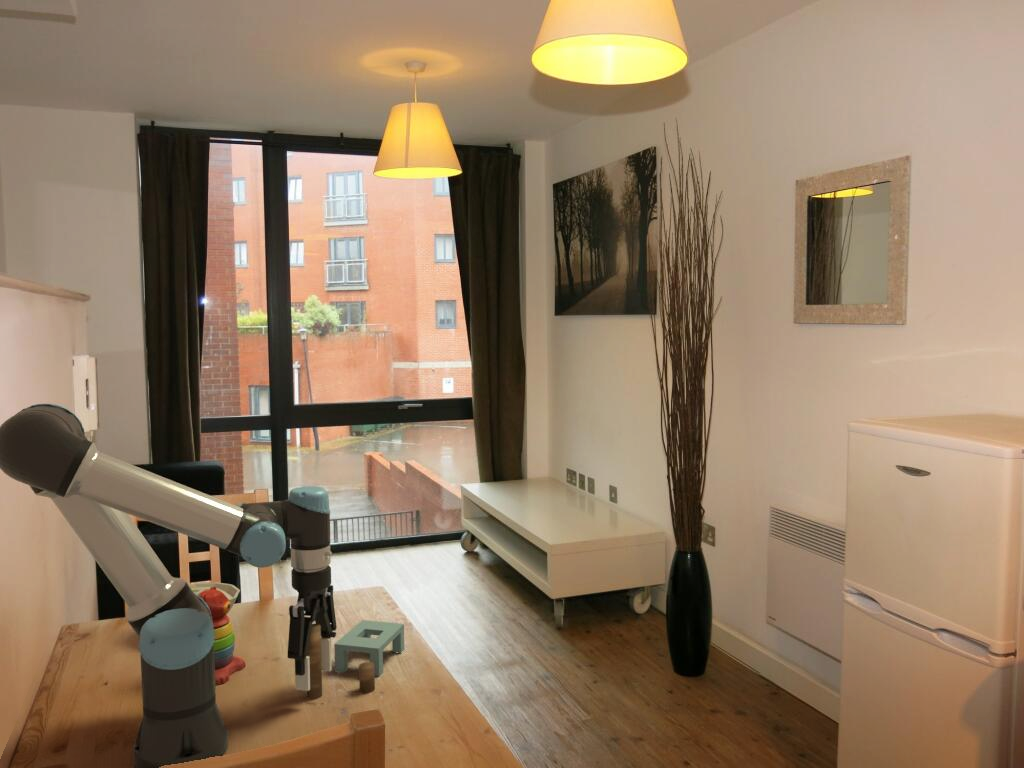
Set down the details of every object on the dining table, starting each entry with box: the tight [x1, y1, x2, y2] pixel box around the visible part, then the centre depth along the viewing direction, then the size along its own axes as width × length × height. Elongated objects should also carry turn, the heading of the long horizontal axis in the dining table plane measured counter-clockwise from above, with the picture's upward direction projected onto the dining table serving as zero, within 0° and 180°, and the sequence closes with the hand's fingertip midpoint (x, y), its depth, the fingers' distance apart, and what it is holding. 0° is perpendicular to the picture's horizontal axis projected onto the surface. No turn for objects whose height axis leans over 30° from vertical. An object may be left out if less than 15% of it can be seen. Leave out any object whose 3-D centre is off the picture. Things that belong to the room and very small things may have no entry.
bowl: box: [188, 581, 241, 616], centre depth 198 cm, size 19×19×10 cm
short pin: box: [358, 661, 376, 694], centre depth 168 cm, size 3×3×5 cm
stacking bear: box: [198, 587, 246, 686], centre depth 175 cm, size 11×10×18 cm
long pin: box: [306, 623, 323, 700], centre depth 165 cm, size 3×3×14 cm
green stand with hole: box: [333, 619, 405, 677], centre depth 181 cm, size 14×10×6 cm
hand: (314, 679), depth 165 cm, fingers open, 8 cm apart
